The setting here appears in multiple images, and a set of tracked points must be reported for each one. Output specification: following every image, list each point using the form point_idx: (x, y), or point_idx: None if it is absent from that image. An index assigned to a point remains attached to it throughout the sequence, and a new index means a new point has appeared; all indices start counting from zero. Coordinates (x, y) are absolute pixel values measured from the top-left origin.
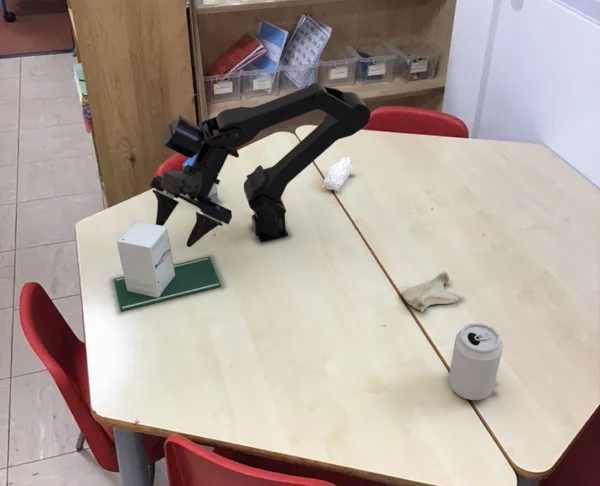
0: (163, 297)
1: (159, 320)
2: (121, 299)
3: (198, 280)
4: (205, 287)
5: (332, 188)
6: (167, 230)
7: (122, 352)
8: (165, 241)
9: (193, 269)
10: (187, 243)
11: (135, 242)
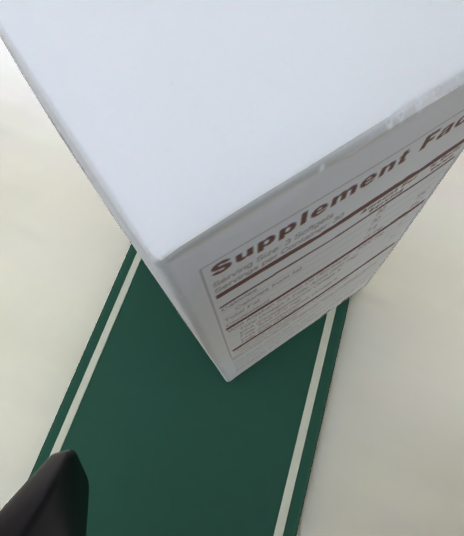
0: (134, 269)
1: (47, 209)
2: None
3: (118, 468)
4: None
5: None
6: (158, 272)
7: (20, 72)
8: (134, 246)
9: (216, 499)
10: (52, 465)
11: None
